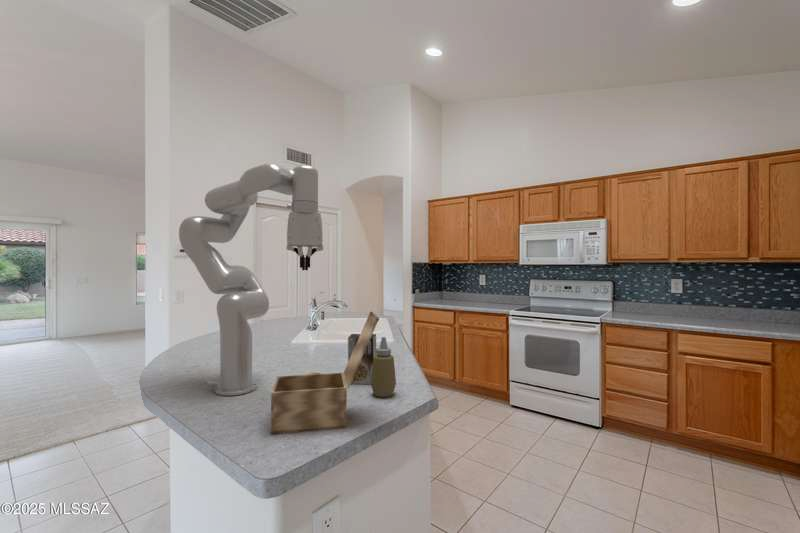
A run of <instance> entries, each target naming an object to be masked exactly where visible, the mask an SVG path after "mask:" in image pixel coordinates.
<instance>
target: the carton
mask: <svg viewBox="0 0 800 533" xmlns="http://www.w3.org/2000/svg"><path fill="white" fill-rule="evenodd" d="M347 390H348V388H347V386H346V381H345V377H344V372H331V373H330V372H329V373H320V374H311V375H306V374H297V375H296V374H295V375H280V376H276V379H275V381H274V384H273V387H272V390H271V392H270V405H271V406H270V435H277V434H280V435H281V434H288V433H300V432H309V431H310V432H314V431H323V430H324V431H325V430H336V429H345V428H346V429H347V408H348V407H347V406H348V404H347V399H348V397H347V395H348V394H347Z"/></svg>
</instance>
